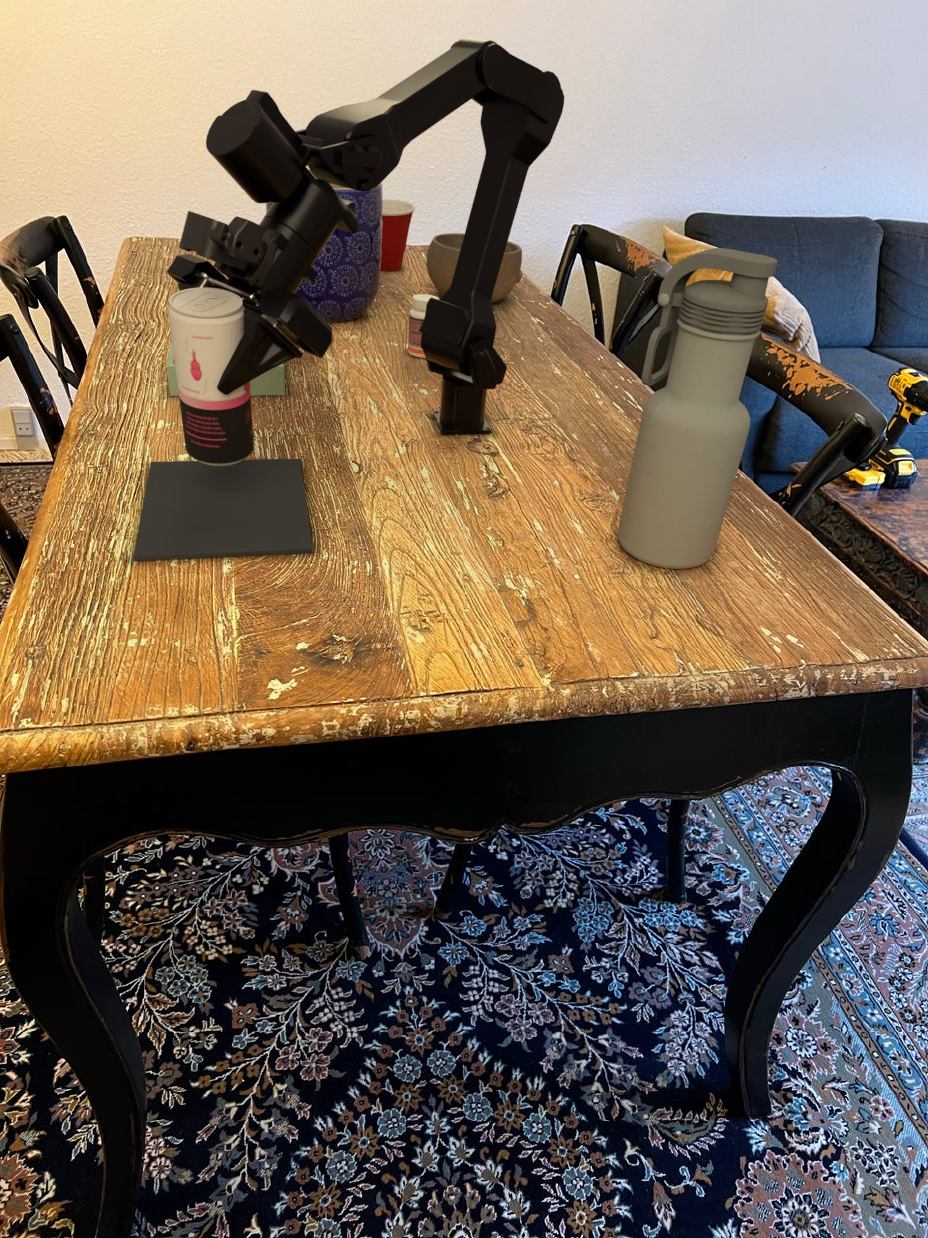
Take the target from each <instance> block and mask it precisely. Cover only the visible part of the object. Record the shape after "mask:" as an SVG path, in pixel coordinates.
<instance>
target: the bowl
mask: <svg viewBox="0 0 928 1238" xmlns="http://www.w3.org/2000/svg"><path fill="white" fill-rule="evenodd" d="M464 234H465V233H461V232H460V233H459V232H458V233H455V232H452V233H442V234H437V235H434V236H433V237H432V240H431V242H430V243H429V246H428V247H427V250H426V260H425V261H426V262H425V263H426V264H425V265H426V271H427V273H428V277H429V279H430V282H431V283H432V284H433V286H434V288H435V290H437V292H438V293H439V294H440V295H441V296H442V295H443V294H444V293H445V292H446V291H447V290H448V289H449V288H450V286H451V283H452V279H453V276H454V272H455V268H456V264H457V261H458V257H459V253H460V249H461V246H462V242H463V238H464ZM522 261H523V249H522V247H521V246H520V245H518V244H516V243H514V242H512V241H508V242H507V245H506V249H505V252H504V256H503V259H502V263H501V266H500V270H499V273H498V277H497V280H496V284H495V287H494V291H493V294H492V299H491V302H492V304H493V303H496V302H499V301H502V300H503V299H505V298H506V297H507V296H508V295H510V294H511V292H512V291H513V289H514V287H515V286H516V285H517V284H519V283H520V282H521V280H522V277H523V271H522V269H521V268H522V264H523V263H522Z"/></svg>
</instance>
